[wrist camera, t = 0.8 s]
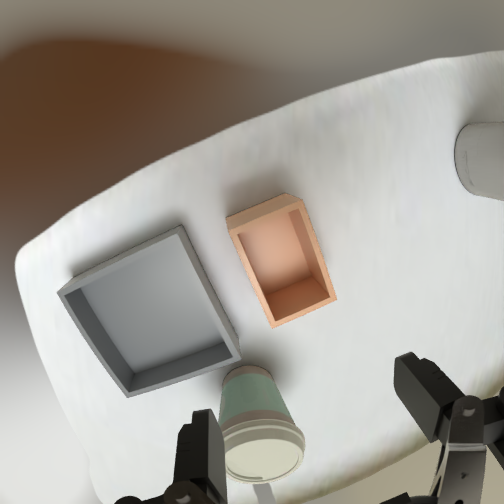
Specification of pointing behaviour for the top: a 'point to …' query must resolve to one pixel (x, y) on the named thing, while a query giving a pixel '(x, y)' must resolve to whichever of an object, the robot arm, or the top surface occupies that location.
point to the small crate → (282, 258)
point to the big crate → (152, 315)
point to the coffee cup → (257, 428)
